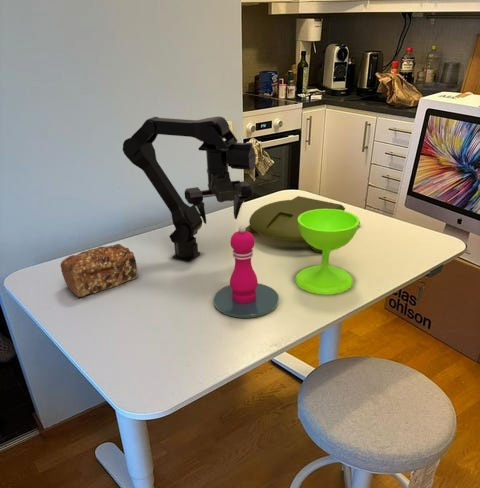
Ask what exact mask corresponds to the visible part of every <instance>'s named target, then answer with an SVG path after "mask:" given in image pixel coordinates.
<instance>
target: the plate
mask: <svg viewBox="0 0 480 488" xmlns="http://www.w3.org/2000/svg"><path fill="white" fill-rule="evenodd" d="M232 291H233V290H232V289H231V287H230V284H228V285H226V286H224V287H222V288H220V289H219V290H218V291H217V292H216V293H215V294H214V297H213V304H214V306H215V308H216V309H217V311H219V312H220V313H222V314H224V315H226V316H229V317H235V318H241V319H245V318H246V319H249V318H258V317H261V316H264V315H267V314H269V313H271V312H272V311H273V310H275V309H276V307H278V305H279V302H280V301H279V300H280V299H279V294H278V293H277V291H276V290H275V289H273V288H272V287H270V286H268V285H266V284H263V283H259V282H258V285H257V287H256V289H255V291H256V299H255V300H254V301H252V302H250V303H238V302H235V301H234V300H233V299H232Z"/></svg>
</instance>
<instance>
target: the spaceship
mask: <svg viewBox="0 0 480 488" xmlns="http://www.w3.org/2000/svg"><path fill="white" fill-rule="evenodd" d="M316 209H337V210H343V211H346V207H345V206H344V205H342V204H340V203H335V202H330V201H325V200H320V199H315V198H310V197H304V196H300V195H298V196H296V197H294V198H292V199H285V200H278V201H274V202H270V203H268V204H265V205H263V206H261V207H259V208H257V209H256V210H254V212H253V213H252V214H251V215H250V217H249V220H248V223H249V225H248V226H245V228H246V231H248V232H250V233H251V234H252V235H253V236H254V235H257V234H260V235H262V236H264V237H267V238H271V239H275V240H282V241H297V242H298V241H305V239H304V238H303V237H302V235H301V233H300V230H299V228H298V217H299V216H300V215H301V214H302V213H304V212H307V211H310V210H316ZM359 225H361V221H360V220H359ZM311 250H312V251H313V252H316V253H322V251H323V250H320V249H317V248H315V247H313V246H311Z"/></svg>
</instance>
